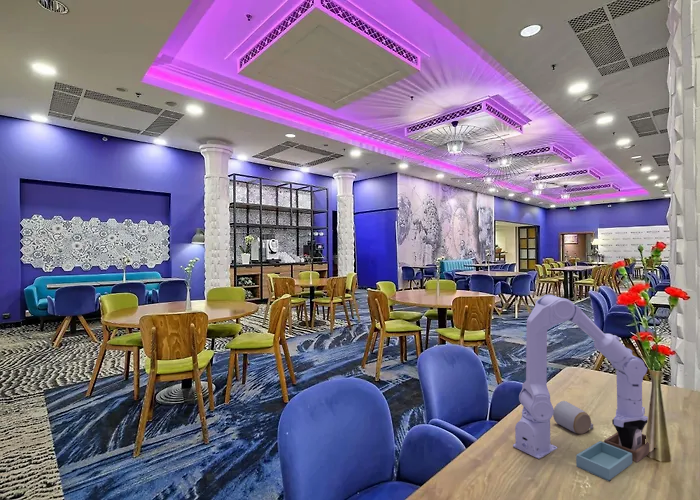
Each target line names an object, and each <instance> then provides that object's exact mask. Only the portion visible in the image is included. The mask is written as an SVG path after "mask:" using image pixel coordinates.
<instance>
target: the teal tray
mask: <svg viewBox="0 0 700 500" xmlns="http://www.w3.org/2000/svg"><path fill="white" fill-rule="evenodd" d="M575 457H576V458H575V459H576V462H575V463H576V467H577V468H579V469H581V470H584V471H585V472H588V473H590V474H592V475H594V476H595V477H596V476H597V477H599V478H601V479H603V480H605V481H606V482H611V481H612V479H613V478H615V477H616V476H617V475H618V474H620V473H622V472H623V471H624V470H626V469H627V468H628V467H629V466H632V464H633V461H632V453H630V452H627V451H625V450H622V449H620V448H617V447H614V446H612V445H609V444H607V443H604V441H601V440H599V441H597V442H596V443H594V444H592V445H591V446H589V447H587V448H585V449H584V450H582V451H580V452H579V453H577V454H576V455H575Z"/></svg>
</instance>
